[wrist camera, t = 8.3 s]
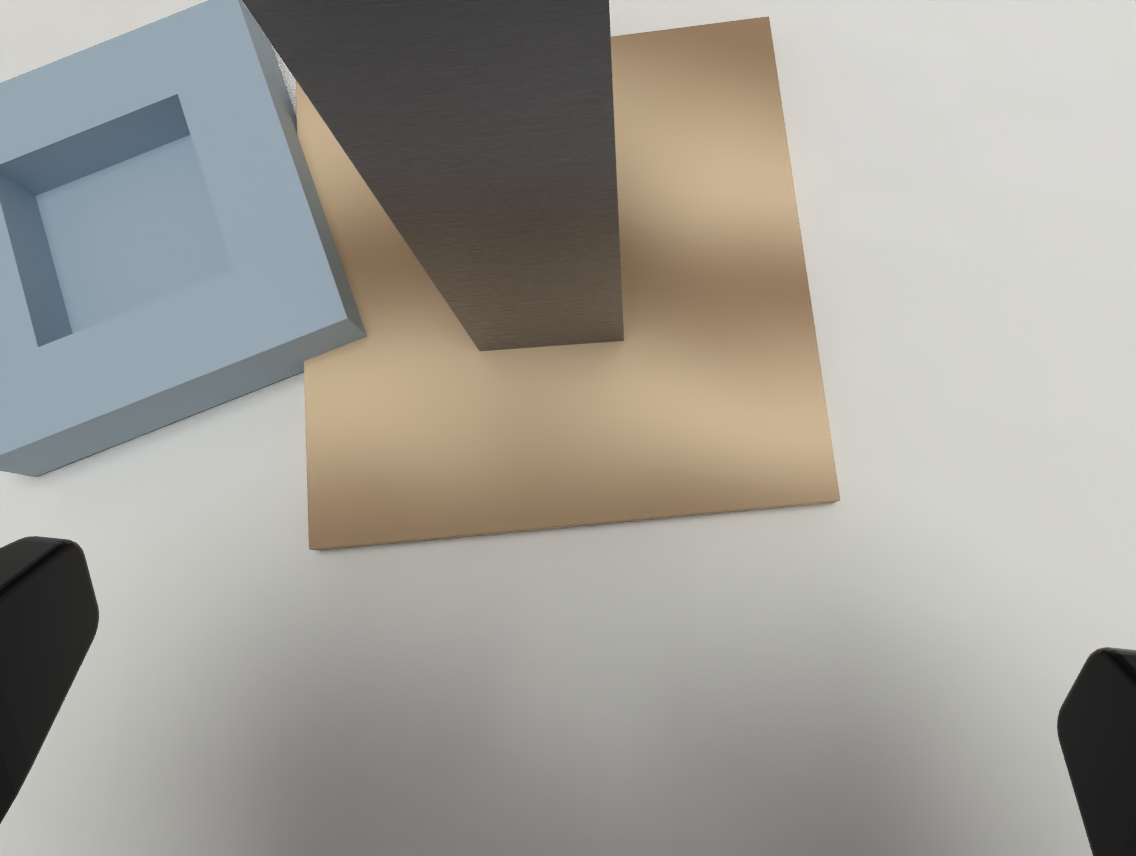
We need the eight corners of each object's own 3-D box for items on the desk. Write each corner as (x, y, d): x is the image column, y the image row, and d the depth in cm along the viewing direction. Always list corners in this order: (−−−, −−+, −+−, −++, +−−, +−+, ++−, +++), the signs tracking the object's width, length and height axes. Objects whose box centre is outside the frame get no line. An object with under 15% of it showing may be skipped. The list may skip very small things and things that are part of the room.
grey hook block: (624, 340, 19) (605, -77, 7) (479, 351, 20) (218, -37, 7) (608, 98, 21) (568, -627, 8) (471, 111, 21) (233, -576, 8)
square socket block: (374, 343, 21) (347, 318, 19) (35, 476, 21) (-28, 466, 19) (269, 42, 22) (234, -11, 20) (-42, 165, 22) (-108, 126, 20)
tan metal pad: (833, 502, 19) (839, 500, 18) (318, 550, 20) (309, 549, 19) (765, 32, 21) (768, 16, 21) (305, 90, 22) (295, 77, 21)
